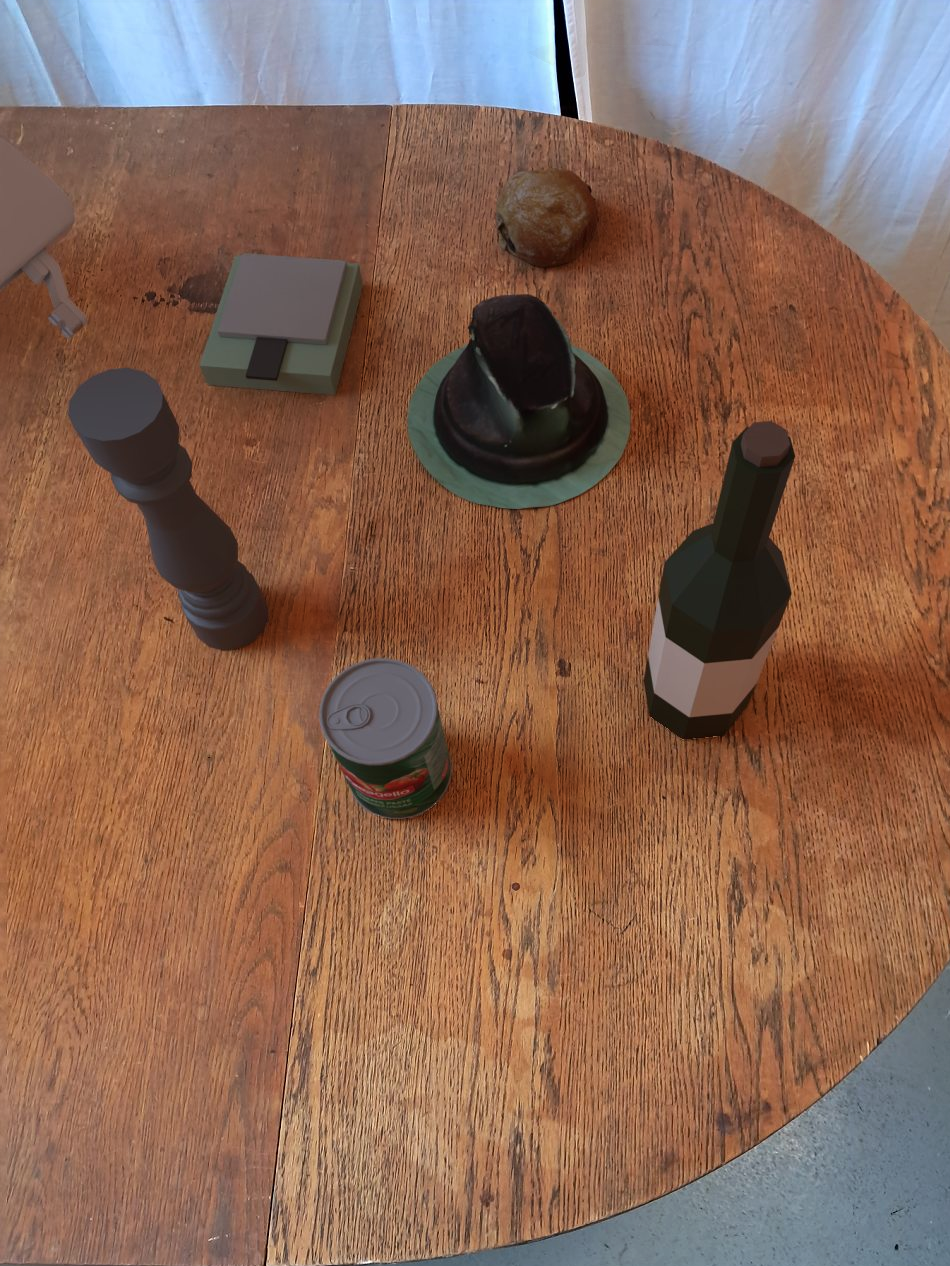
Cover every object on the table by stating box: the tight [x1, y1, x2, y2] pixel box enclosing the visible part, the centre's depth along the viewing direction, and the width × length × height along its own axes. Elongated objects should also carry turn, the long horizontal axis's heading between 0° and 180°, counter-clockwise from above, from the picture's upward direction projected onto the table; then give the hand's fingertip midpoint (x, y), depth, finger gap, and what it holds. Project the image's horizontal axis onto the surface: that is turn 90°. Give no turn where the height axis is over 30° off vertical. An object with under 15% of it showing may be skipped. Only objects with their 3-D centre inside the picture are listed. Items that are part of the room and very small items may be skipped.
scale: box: [199, 252, 364, 396], centre depth 97 cm, size 12×15×3 cm
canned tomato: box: [318, 657, 453, 820], centre depth 74 cm, size 8×8×11 cm
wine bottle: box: [643, 420, 796, 740], centre depth 68 cm, size 8×8×30 cm
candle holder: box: [67, 367, 270, 651], centre depth 74 cm, size 6×6×25 cm
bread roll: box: [495, 167, 599, 268], centre depth 102 cm, size 10×10×8 cm
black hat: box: [407, 293, 632, 510], centre depth 91 cm, size 15×19×20 cm
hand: (28, 376), depth 67 cm, fingers open, 8 cm apart
